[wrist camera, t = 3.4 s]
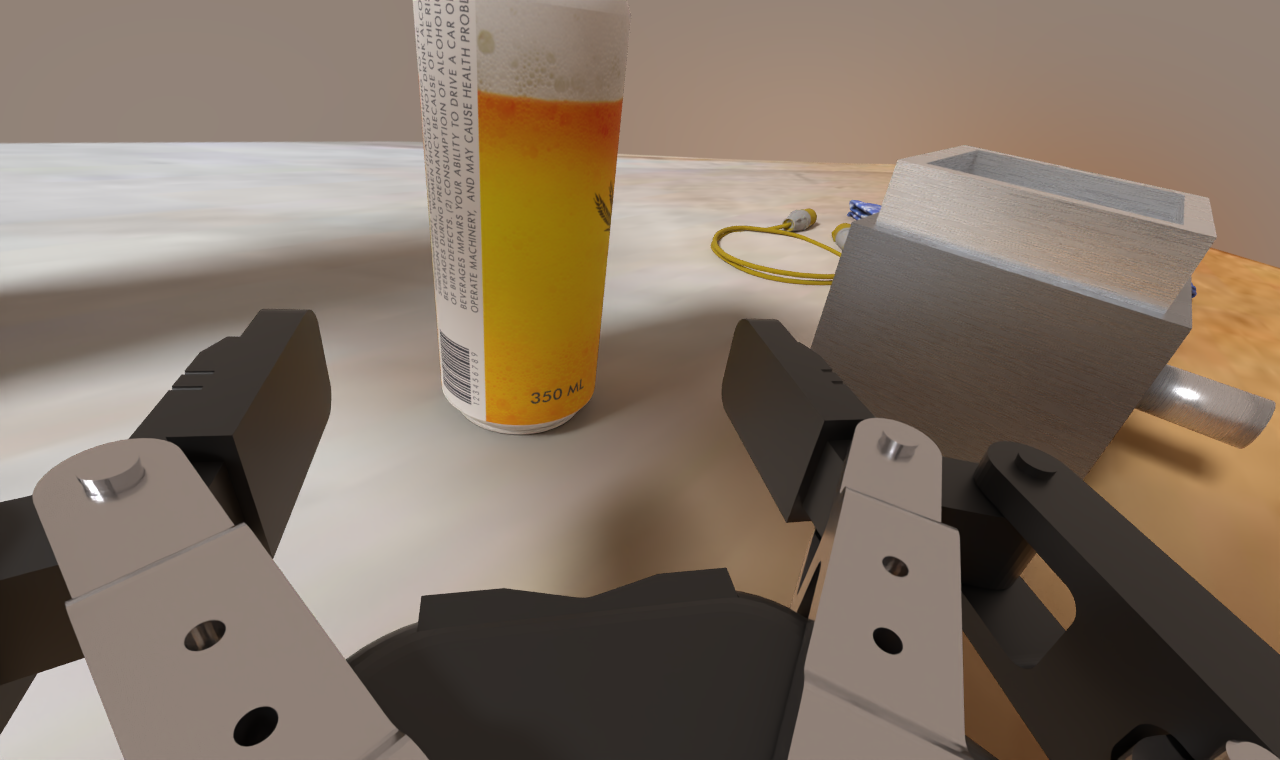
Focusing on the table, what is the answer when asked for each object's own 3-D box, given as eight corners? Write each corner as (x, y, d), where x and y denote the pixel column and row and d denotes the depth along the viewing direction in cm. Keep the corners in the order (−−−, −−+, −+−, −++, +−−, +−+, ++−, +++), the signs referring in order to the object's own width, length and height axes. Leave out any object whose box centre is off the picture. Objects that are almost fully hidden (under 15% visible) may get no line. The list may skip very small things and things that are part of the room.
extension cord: (922, 276, 45) (932, 252, 44) (775, 302, 37) (783, 273, 36) (809, 225, 53) (815, 204, 52) (670, 238, 45) (674, 213, 44)
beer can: (621, 395, 25) (675, -25, 17) (522, 466, 20) (532, -63, 12) (517, 345, 27) (522, -42, 19) (409, 398, 23) (356, -78, 15)
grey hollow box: (797, 388, 27) (873, 156, 21) (882, 325, 35) (954, 141, 29) (1187, 581, 20) (1460, 301, 14) (1187, 446, 27) (1365, 229, 21)
